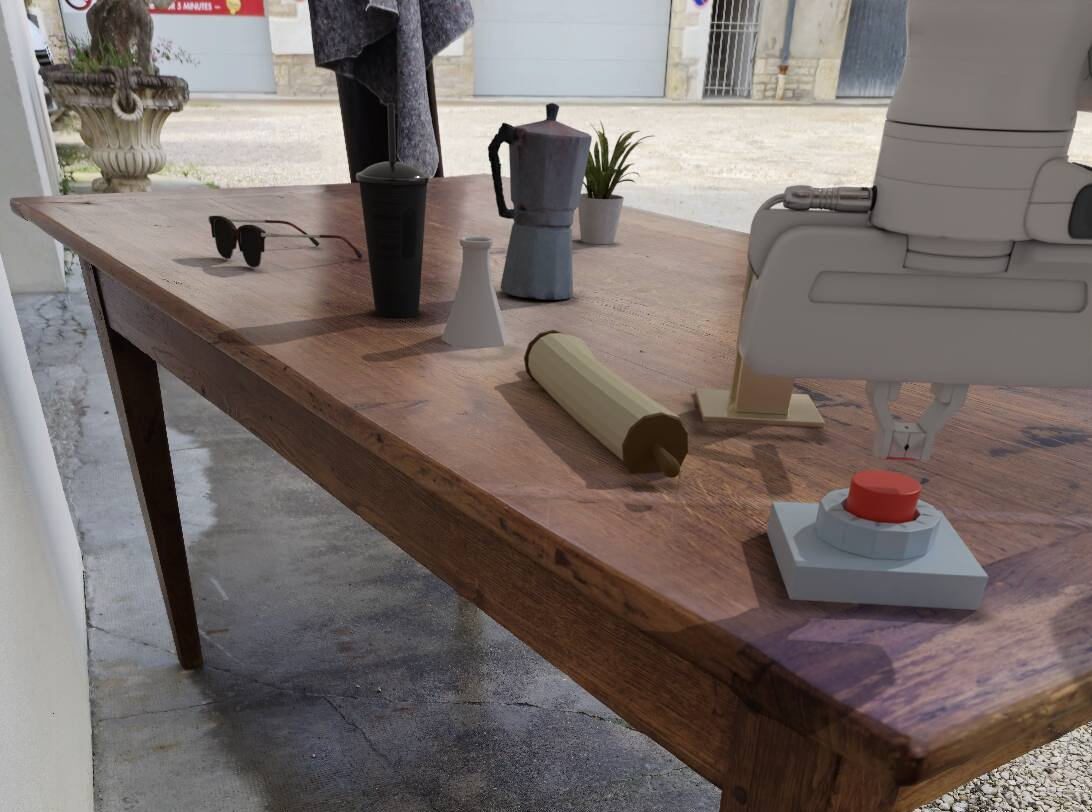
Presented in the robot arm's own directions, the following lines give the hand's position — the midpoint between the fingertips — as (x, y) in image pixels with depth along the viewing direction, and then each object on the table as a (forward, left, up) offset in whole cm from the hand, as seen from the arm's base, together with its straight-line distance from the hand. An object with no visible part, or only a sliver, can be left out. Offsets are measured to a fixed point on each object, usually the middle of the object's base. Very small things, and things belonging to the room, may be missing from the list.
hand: (899, 457), depth 61 cm
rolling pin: (+17, -25, -7) cm, 31 cm away
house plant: (+15, -117, -7) cm, 118 cm away
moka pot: (+24, -75, -7) cm, 79 cm away
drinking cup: (+39, -62, -7) cm, 74 cm away
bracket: (+3, -30, -7) cm, 31 cm away
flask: (+29, -49, -7) cm, 58 cm away
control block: (0, 0, -7) cm, 7 cm away
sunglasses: (+58, -91, -7) cm, 108 cm away
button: (0, 0, -4) cm, 4 cm away
